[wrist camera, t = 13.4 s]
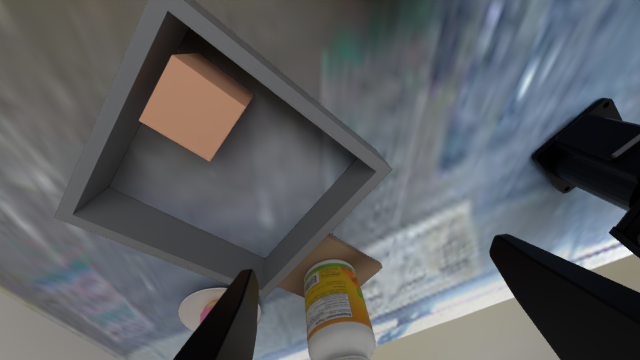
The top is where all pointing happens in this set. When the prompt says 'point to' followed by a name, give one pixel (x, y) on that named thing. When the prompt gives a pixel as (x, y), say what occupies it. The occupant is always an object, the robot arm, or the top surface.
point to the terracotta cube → (195, 104)
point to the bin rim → (164, 230)
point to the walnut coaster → (327, 251)
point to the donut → (201, 306)
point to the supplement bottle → (336, 313)
